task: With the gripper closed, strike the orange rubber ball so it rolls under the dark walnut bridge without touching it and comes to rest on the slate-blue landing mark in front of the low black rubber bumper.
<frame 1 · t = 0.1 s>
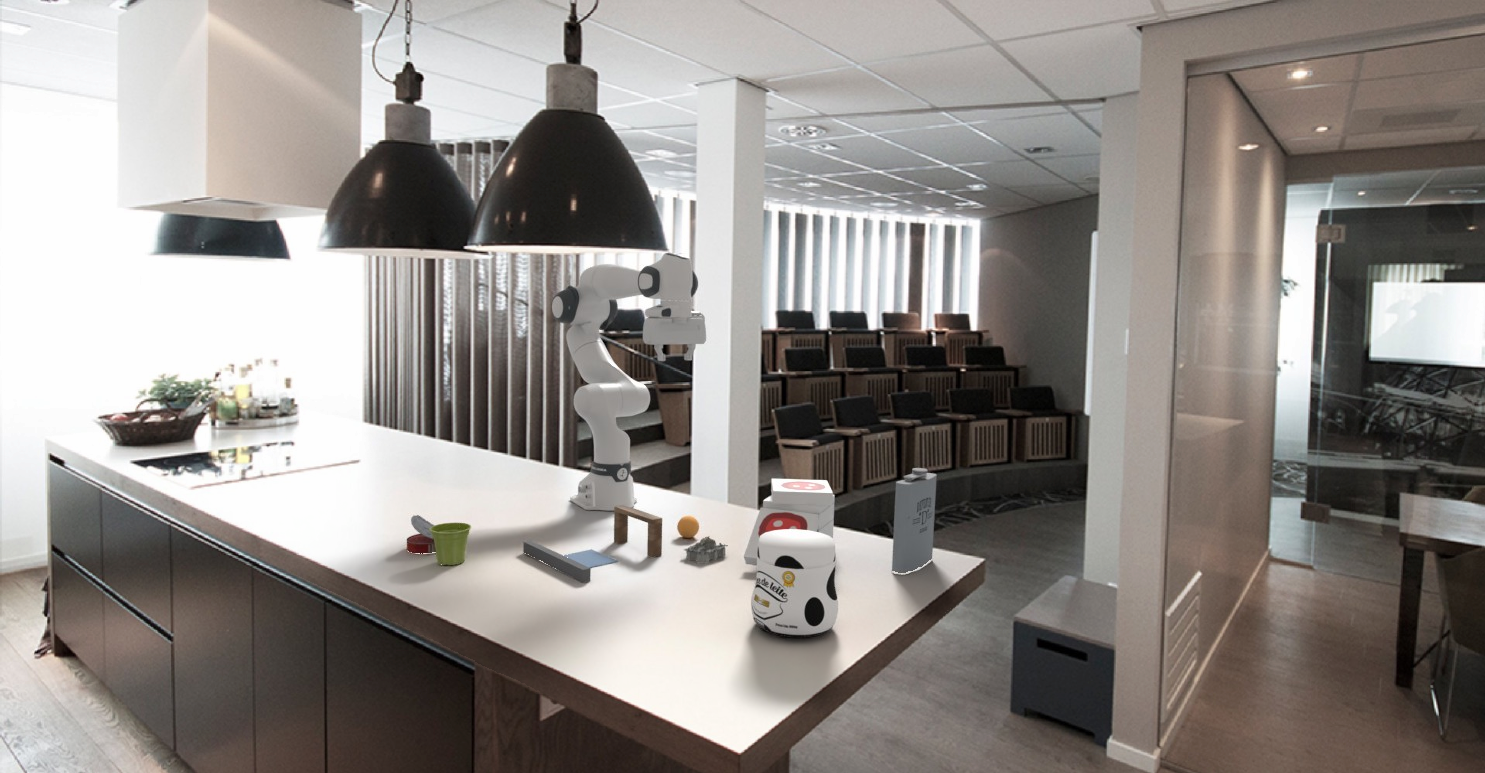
hand: (674, 360, 229), 48 cm above the kitchen island, tool pointing down, fingers open, 8 cm apart
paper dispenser: (792, 559, 207), on the kitchen island
egg carton: (706, 558, 207), on the kitchen island
milk container: (793, 628, 163), on the kitchen island
bridge: (637, 548, 212), on the kitchen island
plant pot: (450, 563, 197), on the kitchen island
flask: (913, 567, 204), on the kitchen island
landing mark: (584, 560, 201), on the kitchen island
stopper wall: (555, 566, 196), on the kitchen island
canned food 2: (427, 550, 207), on the kitchen island
ball: (688, 526, 223), on the kitchen island
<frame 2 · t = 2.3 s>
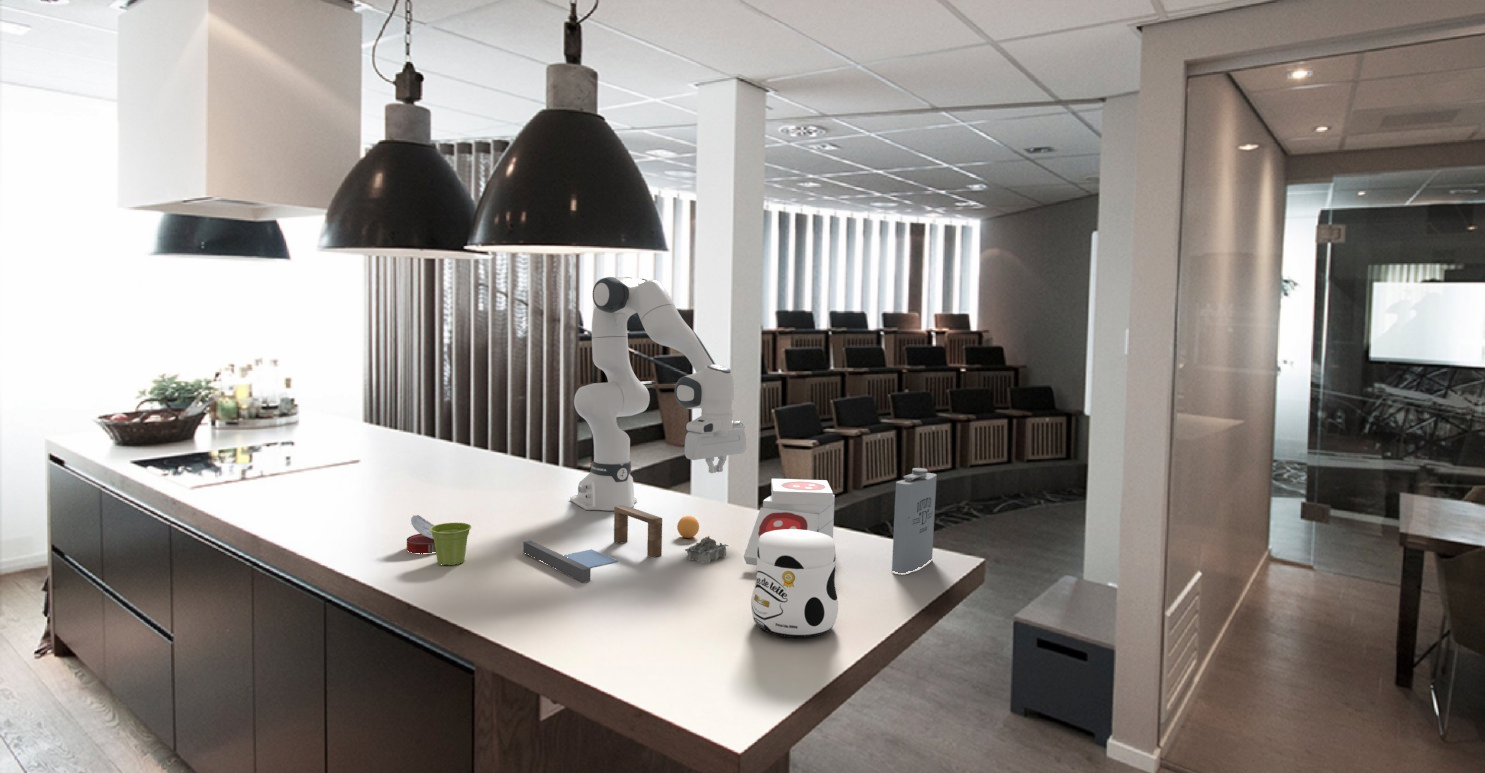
hand: (715, 472, 229), 17 cm above the kitchen island, tool pointing down, fingers closed
nothing on the kitchen island moved.
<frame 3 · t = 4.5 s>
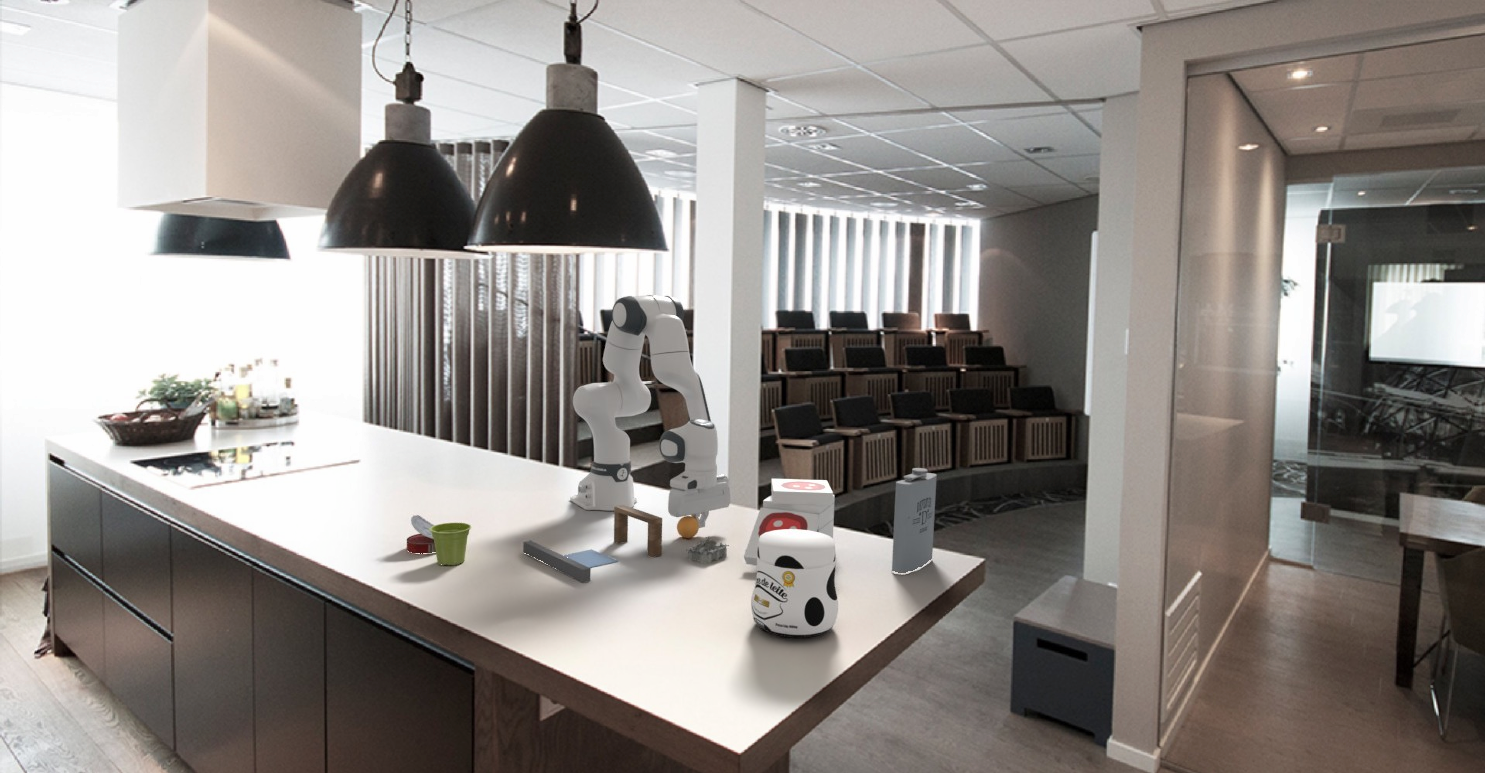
hand: (699, 527, 226), 2 cm above the kitchen island, tool pointing down, fingers closed
ball: (687, 526, 223), on the kitchen island, touching gripper
everything else where it was.
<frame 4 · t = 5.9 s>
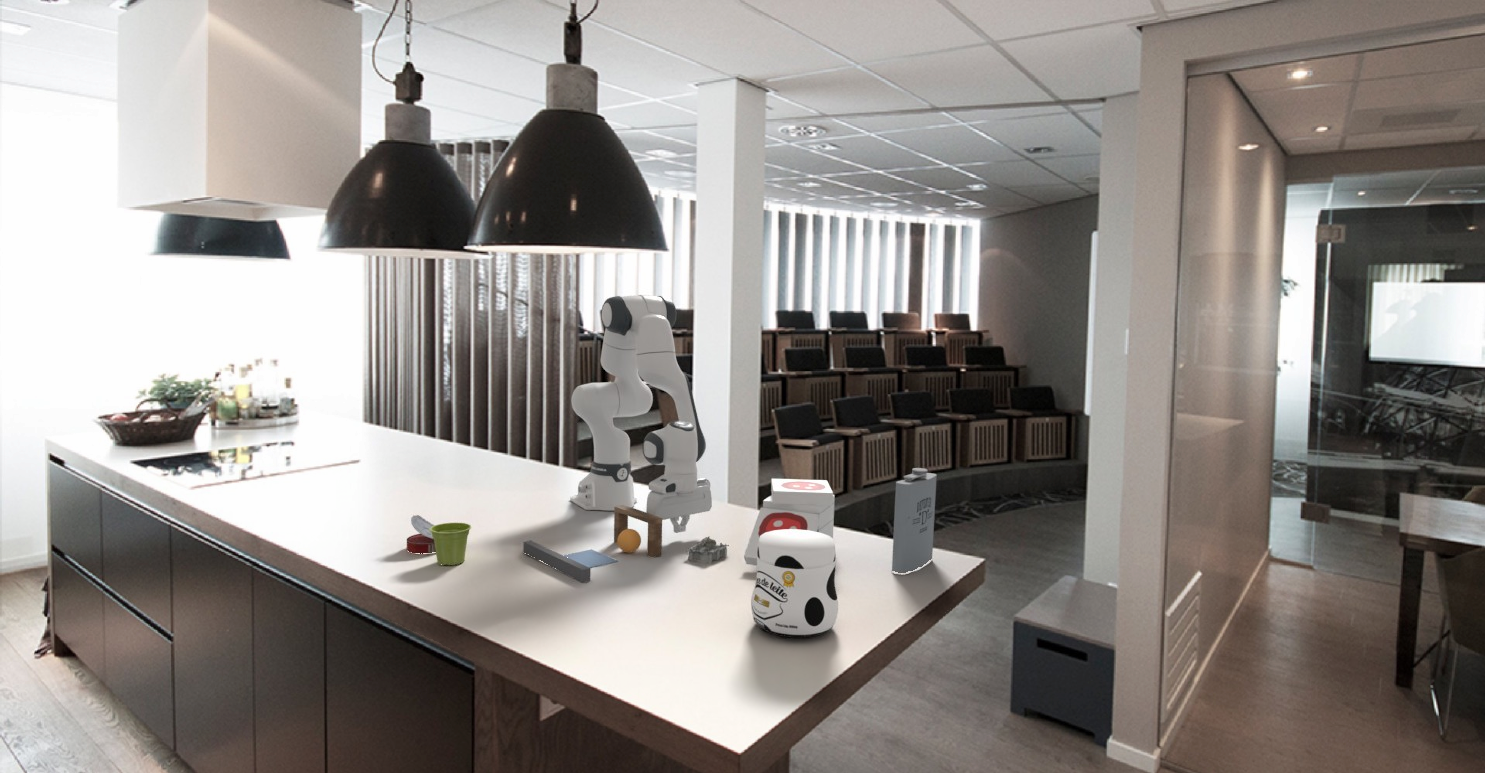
hand: (679, 531, 222), 2 cm above the kitchen island, tool pointing down, fingers closed
ball: (629, 540, 209), on the kitchen island
everything else where it was.
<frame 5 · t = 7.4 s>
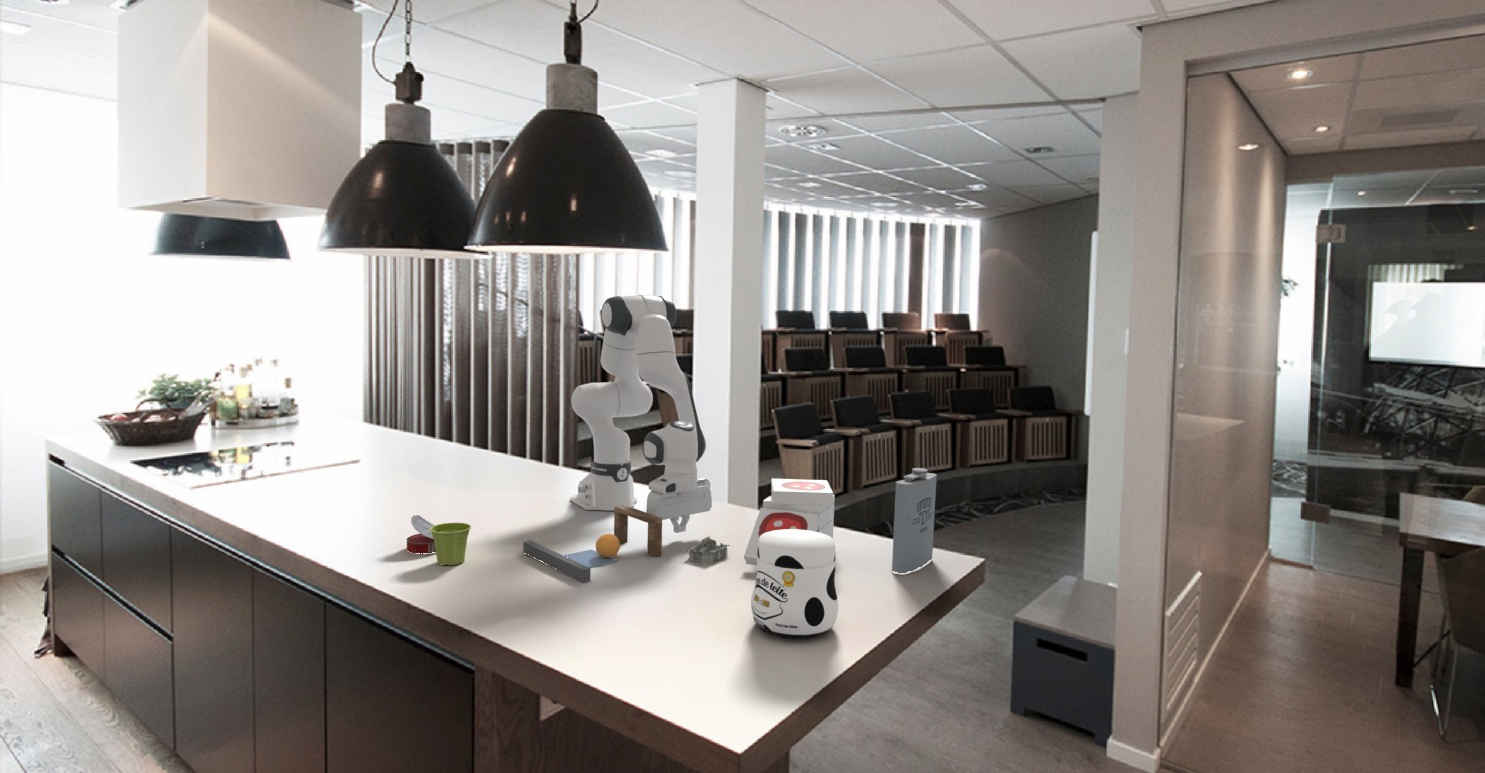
hand: (679, 531, 222), 2 cm above the kitchen island, tool pointing down, fingers closed
ball: (607, 545, 204), on the kitchen island
everything else where it was.
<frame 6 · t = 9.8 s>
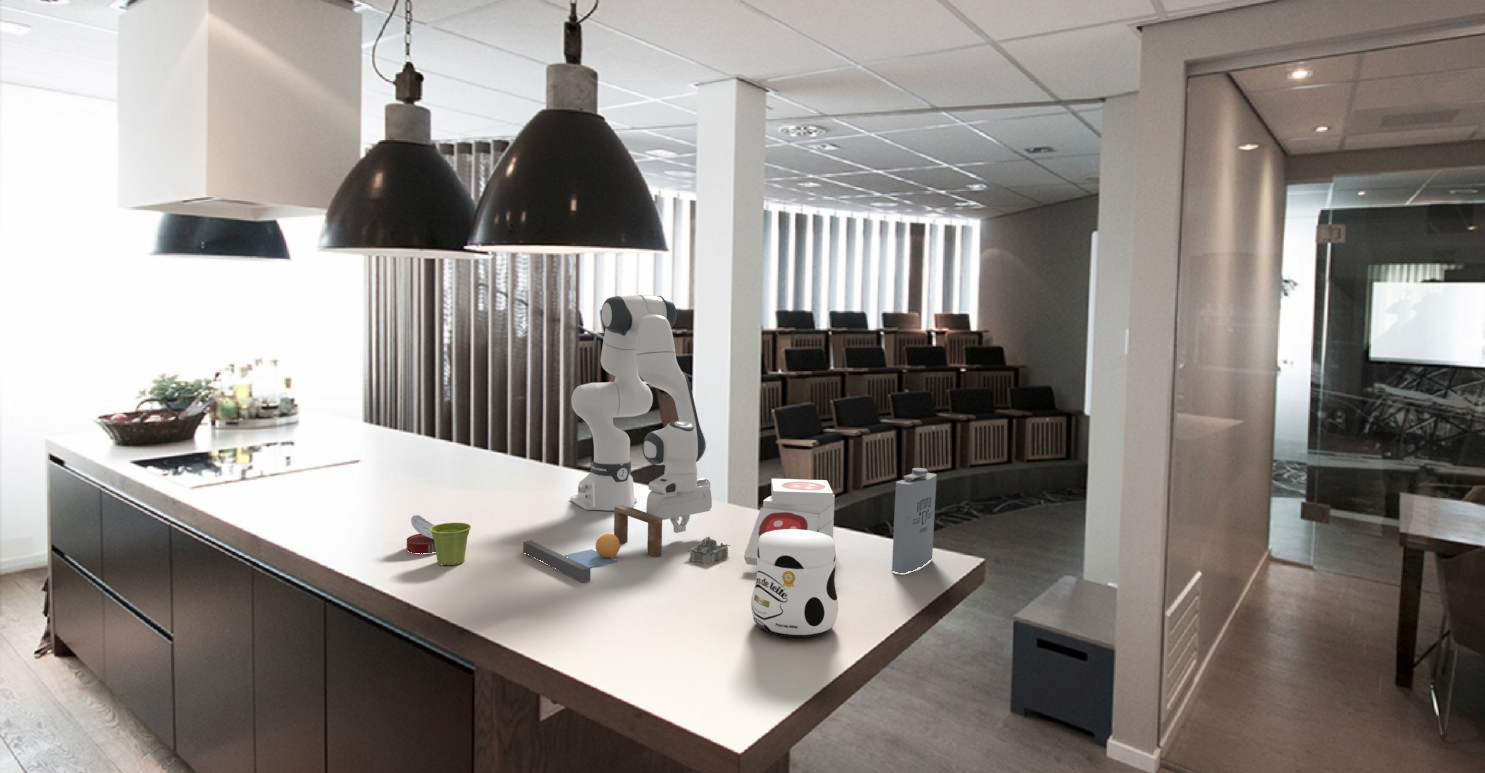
hand: (679, 531, 222), 2 cm above the kitchen island, tool pointing down, fingers closed
nothing on the kitchen island moved.
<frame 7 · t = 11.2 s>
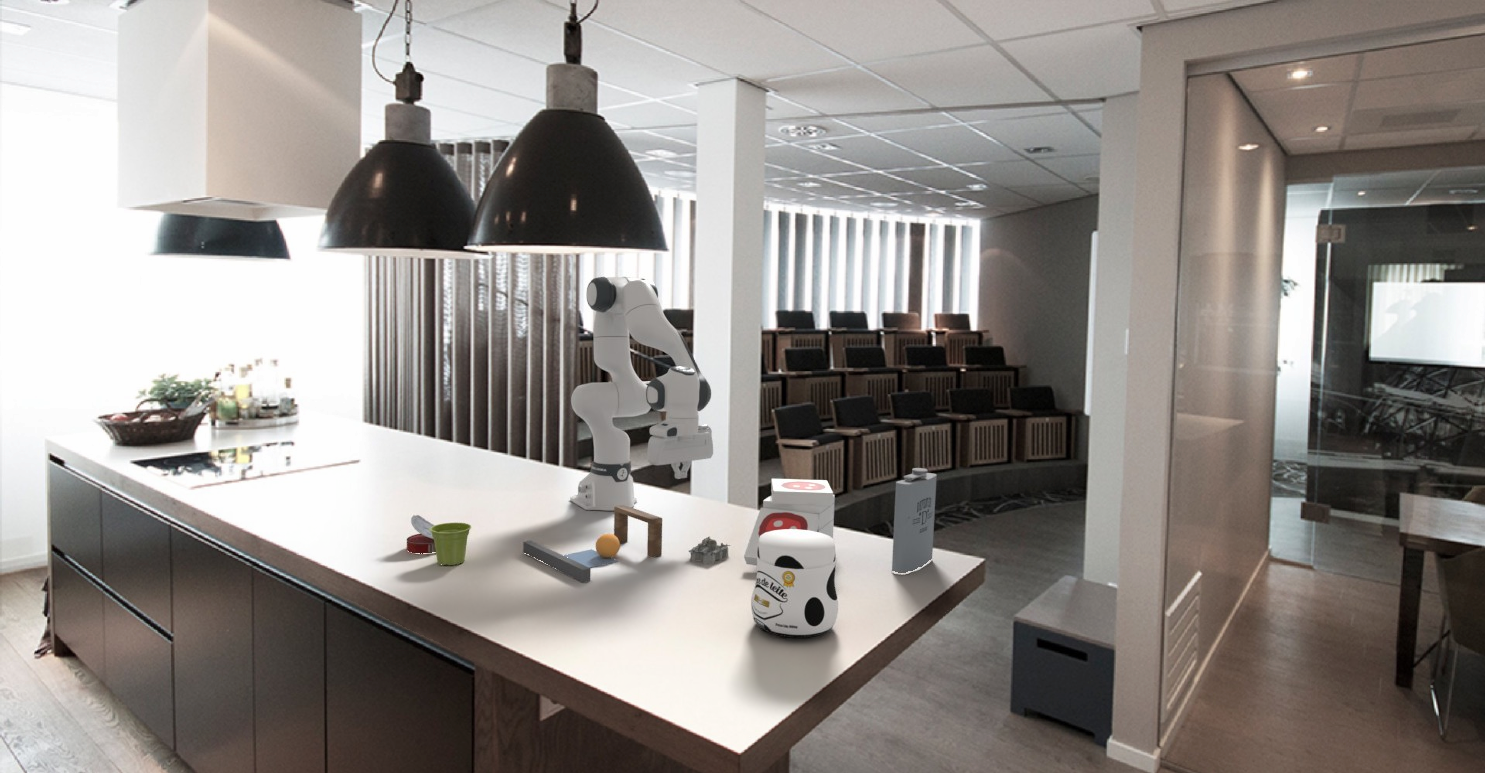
hand: (680, 477, 220), 17 cm above the kitchen island, tool pointing down, fingers closed
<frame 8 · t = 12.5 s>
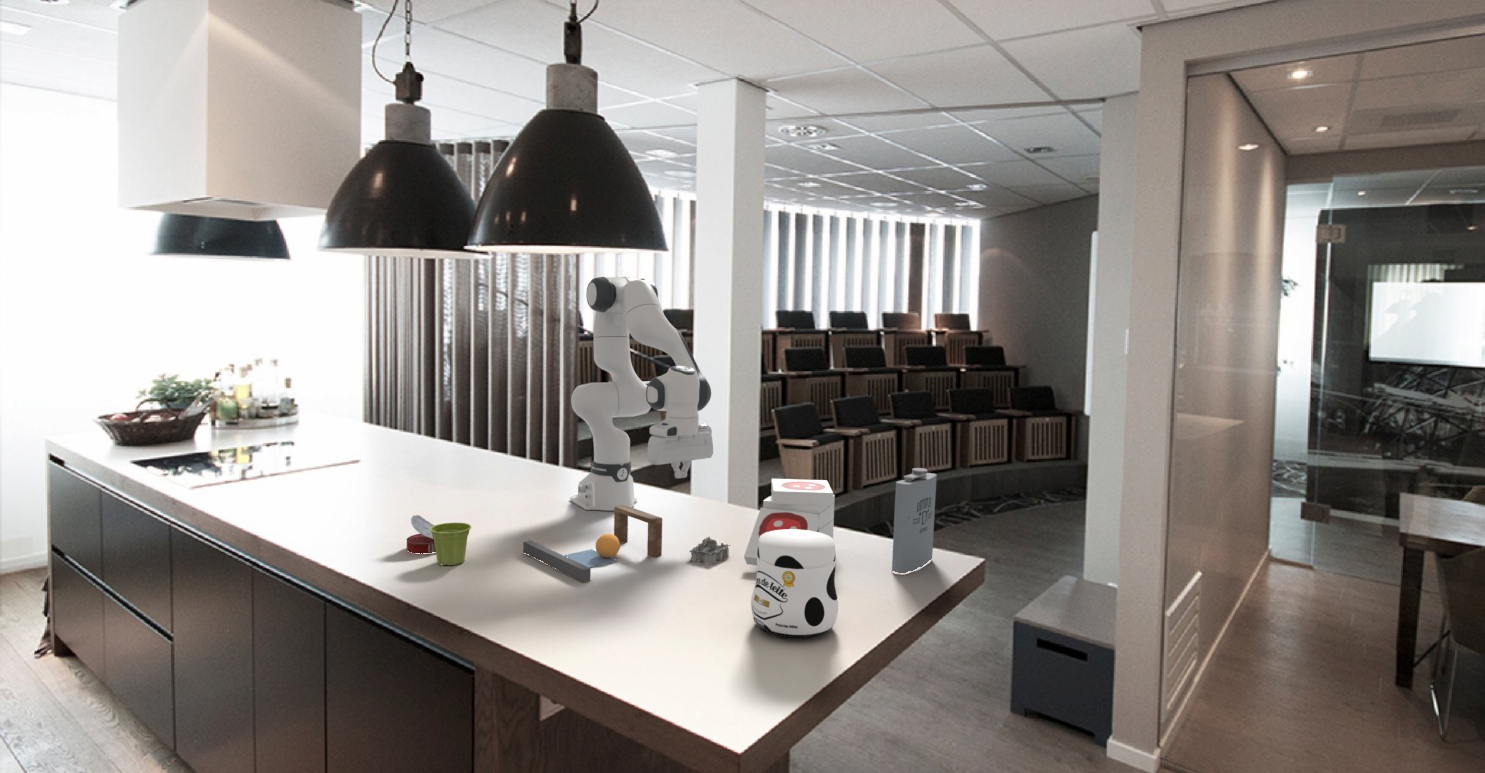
hand: (680, 477, 220), 17 cm above the kitchen island, tool pointing down, fingers closed
at the end: ball 6.1 cm from the landing mark (horizontally); ball never touched bridge; ball at rest at the end (0.0 cm/s) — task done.
